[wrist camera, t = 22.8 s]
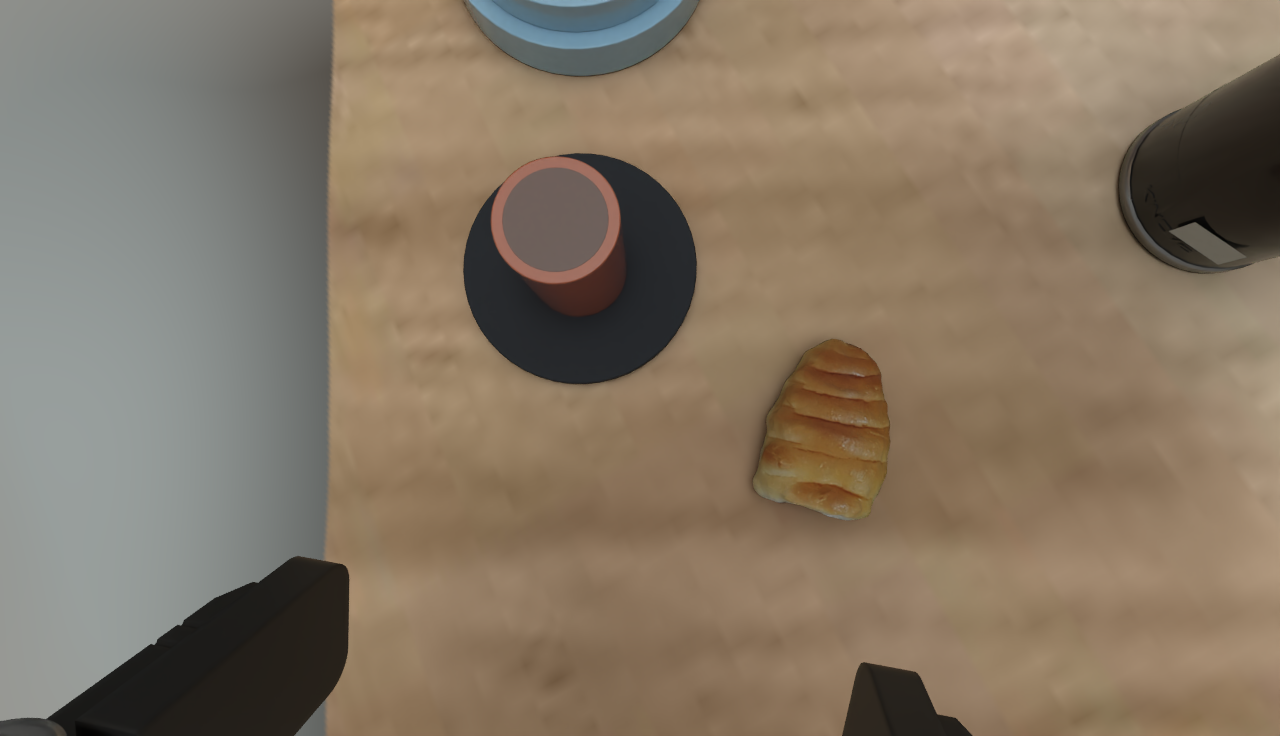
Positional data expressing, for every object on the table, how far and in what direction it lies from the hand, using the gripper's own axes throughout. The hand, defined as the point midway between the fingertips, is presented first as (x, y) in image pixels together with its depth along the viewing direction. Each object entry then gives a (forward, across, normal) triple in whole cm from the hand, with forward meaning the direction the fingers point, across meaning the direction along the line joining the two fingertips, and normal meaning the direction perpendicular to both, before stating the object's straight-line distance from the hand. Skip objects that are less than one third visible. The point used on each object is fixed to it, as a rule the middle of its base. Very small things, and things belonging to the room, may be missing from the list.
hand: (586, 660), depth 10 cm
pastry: (+26, -8, +4) cm, 28 cm away
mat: (+27, +6, -4) cm, 28 cm away
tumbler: (+26, +6, -4) cm, 27 cm away
